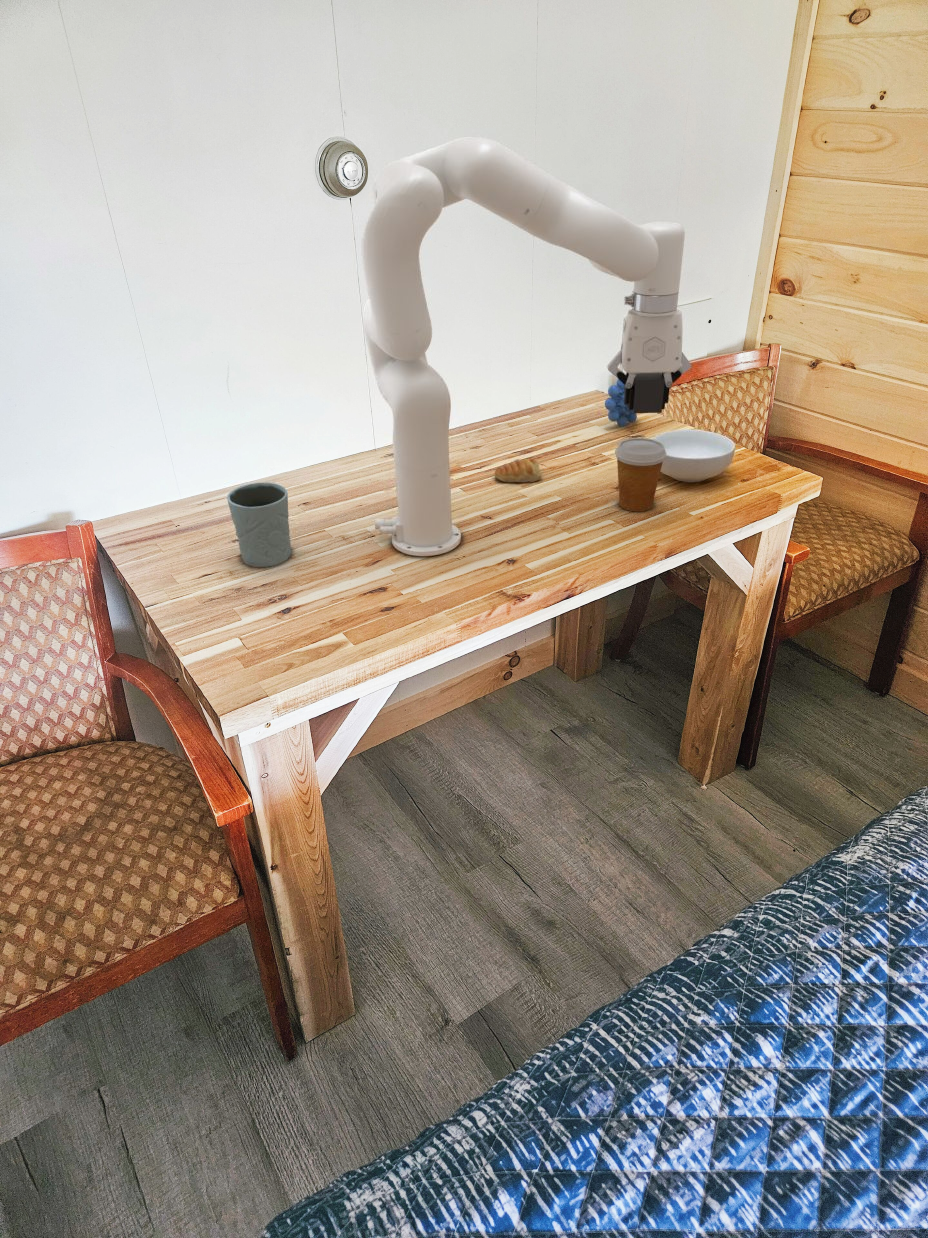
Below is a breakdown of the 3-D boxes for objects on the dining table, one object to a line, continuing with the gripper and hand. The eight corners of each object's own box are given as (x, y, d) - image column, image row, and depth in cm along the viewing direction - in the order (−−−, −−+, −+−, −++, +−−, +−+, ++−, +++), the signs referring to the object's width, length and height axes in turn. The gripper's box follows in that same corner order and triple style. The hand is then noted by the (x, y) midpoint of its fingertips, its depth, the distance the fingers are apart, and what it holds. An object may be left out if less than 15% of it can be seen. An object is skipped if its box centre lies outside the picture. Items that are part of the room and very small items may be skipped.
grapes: (616, 436, 190) (620, 385, 184) (597, 428, 195) (600, 378, 189) (653, 426, 196) (658, 375, 189) (633, 418, 200) (637, 369, 194)
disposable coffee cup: (664, 514, 155) (671, 455, 149) (614, 515, 156) (619, 456, 149) (655, 493, 163) (662, 436, 157) (607, 494, 164) (612, 437, 157)
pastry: (499, 486, 169) (499, 468, 166) (491, 474, 174) (490, 457, 172) (542, 481, 170) (543, 463, 168) (533, 469, 176) (533, 452, 174)
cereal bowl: (701, 455, 180) (706, 423, 176) (746, 483, 166) (752, 450, 162) (632, 466, 175) (635, 434, 172) (672, 496, 162) (676, 463, 158)
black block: (633, 413, 147) (636, 380, 144) (629, 404, 151) (632, 371, 148) (661, 412, 147) (664, 379, 144) (656, 403, 151) (659, 371, 148)
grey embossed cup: (247, 542, 150) (235, 482, 144) (302, 542, 150) (292, 481, 144) (232, 570, 142) (219, 506, 135) (290, 569, 142) (280, 506, 135)
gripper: (607, 309, 136) (600, 415, 146) (710, 306, 136) (697, 413, 146) (601, 299, 143) (596, 401, 153) (700, 296, 142) (688, 399, 152)
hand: (645, 406), depth 149 cm, fingers closed on black block, 5 cm apart
